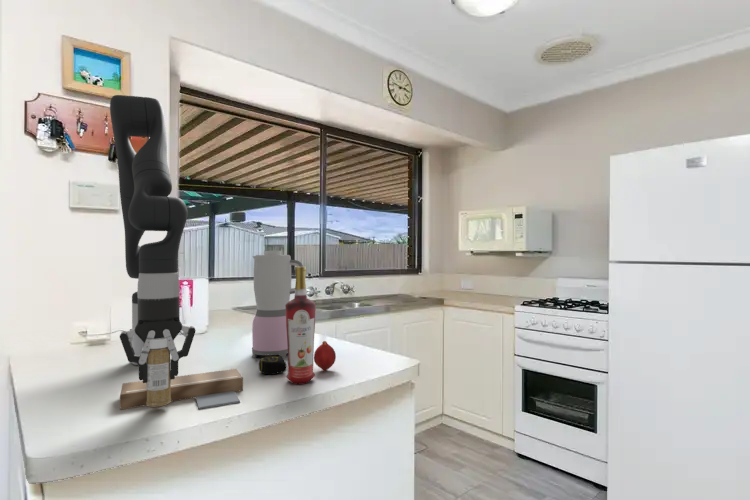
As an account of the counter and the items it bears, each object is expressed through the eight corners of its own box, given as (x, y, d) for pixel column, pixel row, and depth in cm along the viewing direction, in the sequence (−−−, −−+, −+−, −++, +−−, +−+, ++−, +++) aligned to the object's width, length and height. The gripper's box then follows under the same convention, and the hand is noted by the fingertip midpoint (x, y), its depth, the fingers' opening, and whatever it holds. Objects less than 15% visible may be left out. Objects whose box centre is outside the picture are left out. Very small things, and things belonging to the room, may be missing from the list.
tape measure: (286, 375, 108) (286, 360, 108) (259, 377, 106) (259, 363, 106) (284, 368, 114) (284, 354, 114) (258, 370, 112) (258, 356, 112)
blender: (246, 359, 123) (245, 250, 123) (258, 349, 135) (258, 250, 135) (299, 359, 123) (299, 250, 123) (306, 349, 135) (306, 250, 135)
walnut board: (120, 409, 84) (120, 394, 84) (122, 397, 91) (122, 383, 91) (242, 390, 96) (242, 376, 96) (236, 380, 103) (236, 368, 103)
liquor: (314, 375, 107) (314, 266, 107) (317, 385, 99) (316, 267, 99) (285, 377, 105) (285, 266, 105) (285, 387, 98) (285, 267, 98)
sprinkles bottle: (173, 398, 87) (173, 334, 87) (167, 406, 82) (167, 338, 82) (149, 400, 86) (149, 335, 86) (142, 408, 81) (142, 339, 81)
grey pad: (198, 409, 84) (198, 407, 84) (195, 398, 90) (195, 396, 90) (239, 402, 88) (239, 400, 88) (234, 392, 94) (234, 390, 94)
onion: (314, 367, 114) (314, 338, 114) (335, 367, 114) (335, 338, 114) (313, 374, 108) (313, 343, 108) (335, 373, 109) (335, 342, 109)
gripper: (115, 299, 77) (115, 391, 78) (198, 295, 84) (199, 380, 84) (118, 295, 84) (119, 380, 84) (195, 291, 91) (195, 370, 91)
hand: (159, 379), depth 84 cm, fingers closed on sprinkles bottle, 4 cm apart
